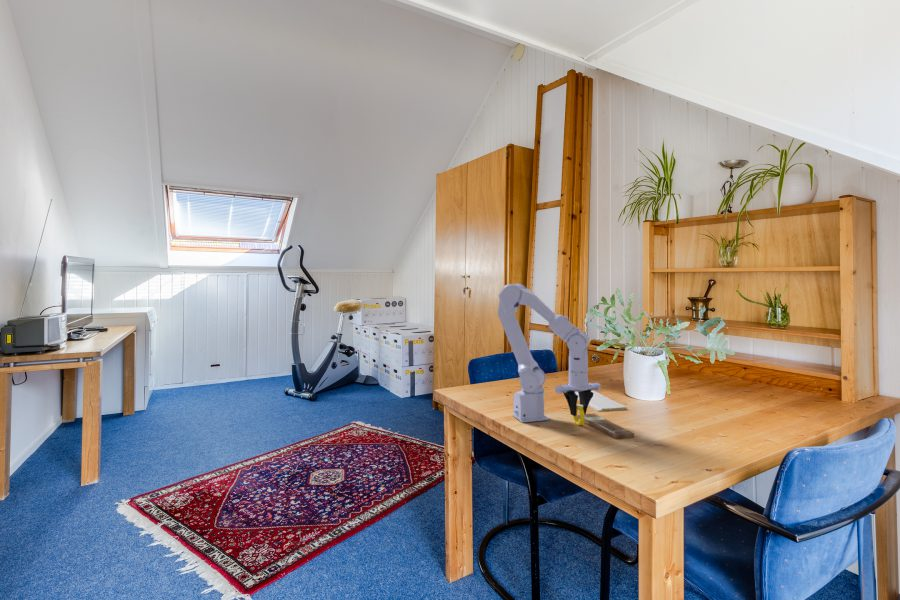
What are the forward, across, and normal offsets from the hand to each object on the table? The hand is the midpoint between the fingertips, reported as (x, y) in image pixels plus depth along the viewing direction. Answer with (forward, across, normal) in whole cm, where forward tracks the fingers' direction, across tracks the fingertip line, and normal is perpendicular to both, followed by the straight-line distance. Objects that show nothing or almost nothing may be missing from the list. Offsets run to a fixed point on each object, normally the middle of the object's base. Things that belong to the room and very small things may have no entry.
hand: (578, 414), depth 140 cm
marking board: (+3, +6, -5) cm, 8 cm away
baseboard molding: (+4, +19, +25) cm, 31 cm away
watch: (+3, 0, 0) cm, 3 cm away
